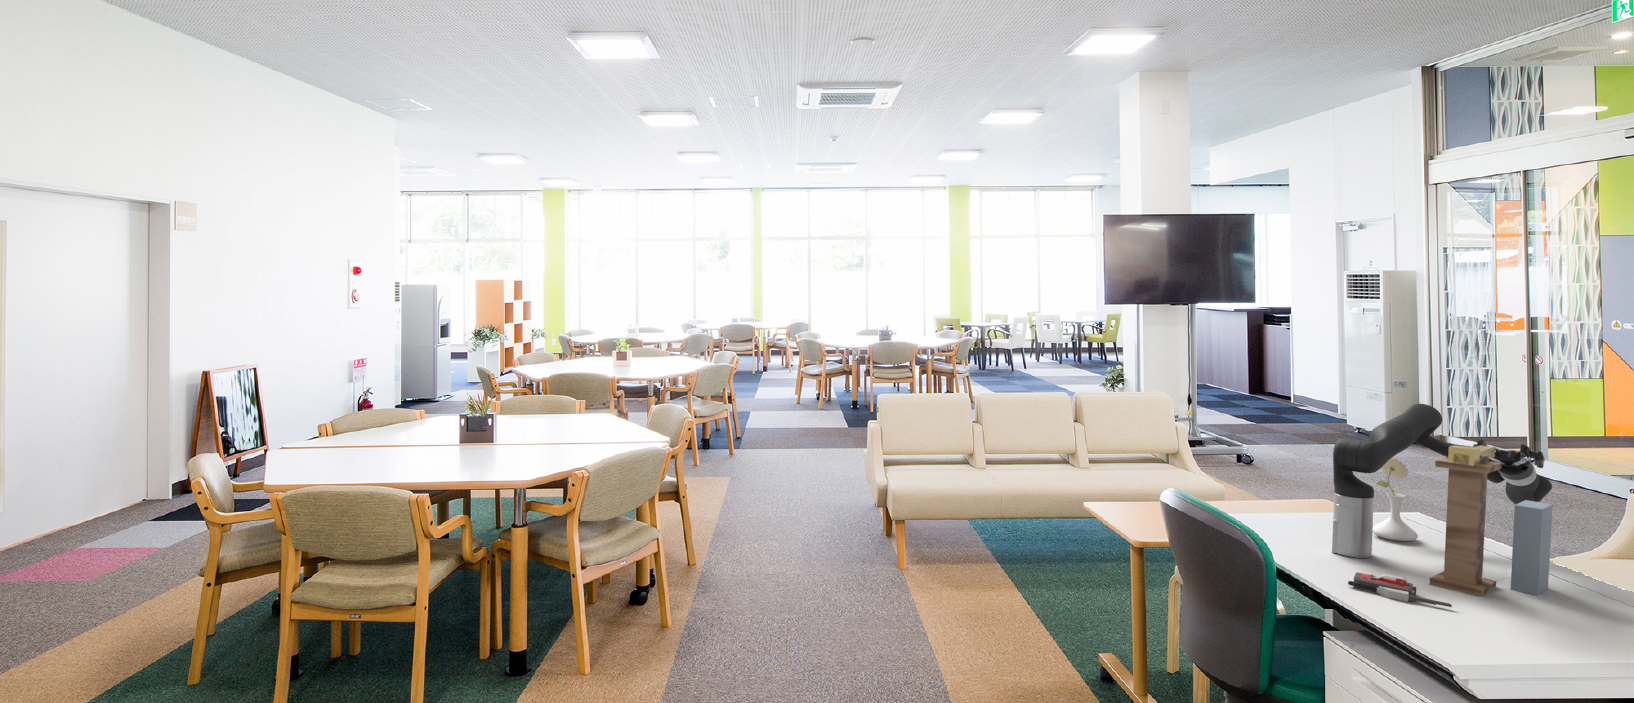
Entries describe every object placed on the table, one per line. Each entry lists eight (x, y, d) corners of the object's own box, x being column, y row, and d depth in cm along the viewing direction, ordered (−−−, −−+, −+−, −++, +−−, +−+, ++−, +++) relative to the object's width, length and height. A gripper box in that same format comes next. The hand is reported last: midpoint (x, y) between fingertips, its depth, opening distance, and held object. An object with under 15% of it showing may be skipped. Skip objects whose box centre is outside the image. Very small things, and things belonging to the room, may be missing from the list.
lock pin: (1473, 465, 179) (1474, 449, 179) (1448, 462, 183) (1448, 446, 183) (1499, 457, 190) (1500, 442, 189) (1474, 454, 194) (1475, 439, 194)
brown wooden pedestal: (1480, 596, 178) (1486, 462, 176) (1429, 583, 186) (1435, 456, 185) (1496, 586, 185) (1502, 457, 183) (1446, 574, 193) (1451, 451, 191)
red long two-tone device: (1346, 590, 183) (1451, 612, 169) (1346, 573, 182) (1452, 594, 169) (1351, 581, 189) (1452, 602, 176) (1351, 564, 189) (1453, 584, 175)
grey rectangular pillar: (1537, 595, 179) (1542, 509, 178) (1510, 588, 183) (1514, 504, 182) (1548, 587, 184) (1552, 504, 183) (1521, 581, 188) (1525, 500, 187)
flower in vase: (1427, 544, 219) (1431, 462, 217) (1389, 544, 219) (1393, 462, 218) (1394, 531, 232) (1397, 454, 230) (1358, 531, 232) (1361, 454, 231)
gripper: (1485, 452, 213) (1470, 429, 205) (1553, 460, 201) (1539, 436, 193) (1480, 475, 211) (1464, 453, 203) (1548, 485, 200) (1534, 461, 191)
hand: (1501, 444), depth 198 cm, fingers open, 8 cm apart
